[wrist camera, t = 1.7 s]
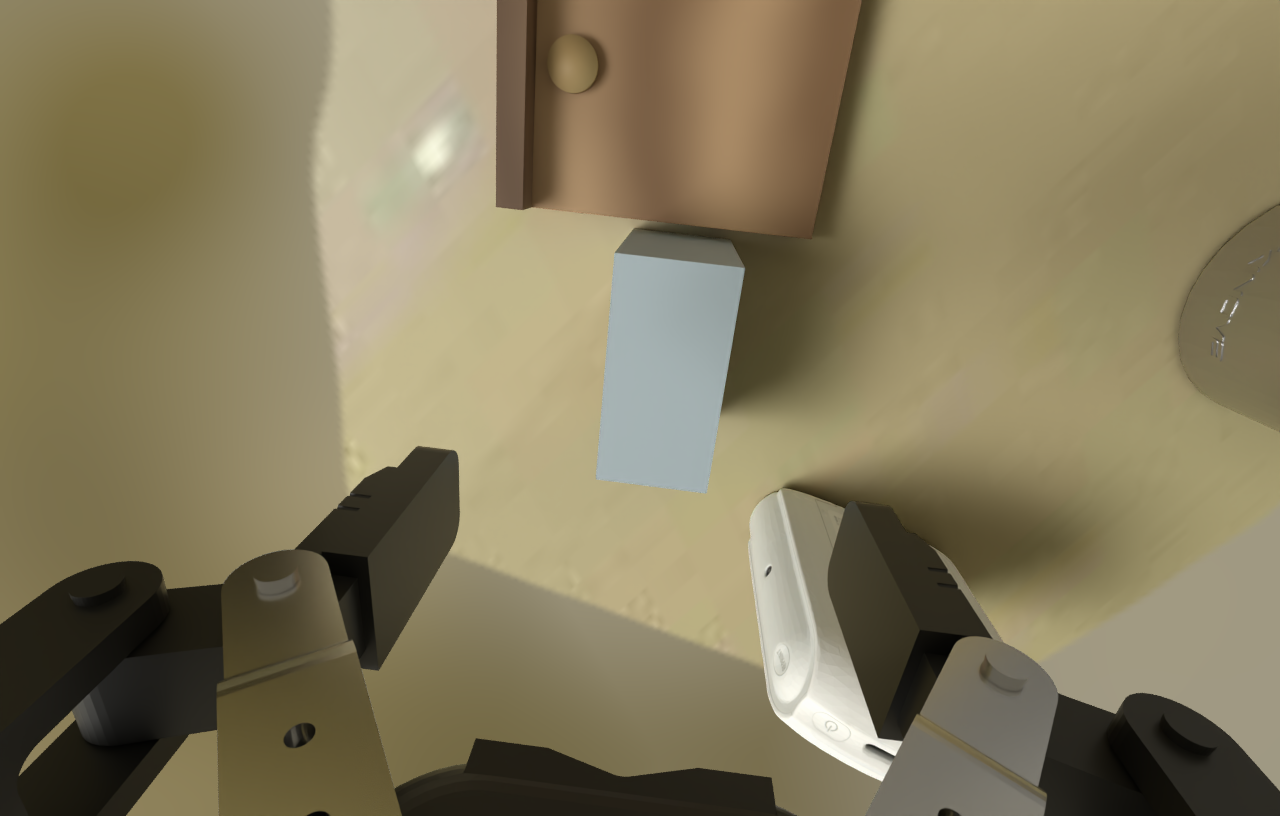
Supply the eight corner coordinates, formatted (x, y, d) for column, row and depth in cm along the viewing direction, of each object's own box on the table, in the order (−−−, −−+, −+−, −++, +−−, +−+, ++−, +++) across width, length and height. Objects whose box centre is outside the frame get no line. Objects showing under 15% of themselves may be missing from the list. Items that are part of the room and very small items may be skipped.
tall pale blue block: (729, 239, 24) (745, 268, 18) (702, 415, 27) (706, 493, 21) (633, 228, 24) (614, 252, 18) (617, 404, 28) (595, 479, 21)
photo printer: (731, 539, 30) (758, 772, 19) (770, 472, 28) (826, 682, 17) (910, 609, 31) (1040, 873, 19) (958, 548, 29) (1131, 797, 18)
